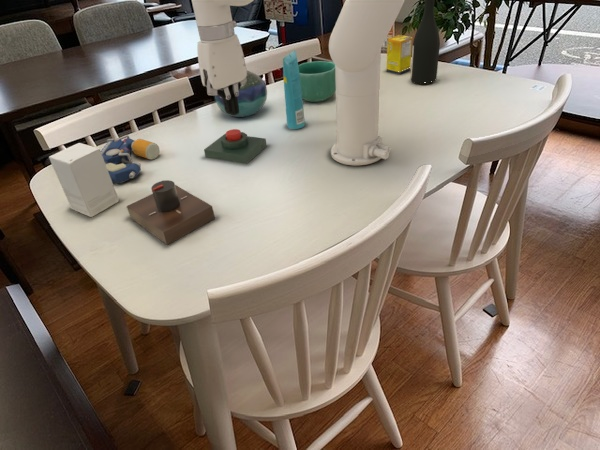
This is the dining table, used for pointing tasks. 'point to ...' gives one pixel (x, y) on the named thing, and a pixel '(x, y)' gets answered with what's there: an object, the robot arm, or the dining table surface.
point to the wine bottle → (425, 48)
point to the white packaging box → (84, 179)
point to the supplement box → (399, 54)
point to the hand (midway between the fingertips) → (232, 113)
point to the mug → (317, 80)
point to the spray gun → (126, 157)
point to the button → (233, 135)
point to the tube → (293, 92)
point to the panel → (171, 216)
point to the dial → (165, 196)
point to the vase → (248, 96)
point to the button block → (236, 148)
